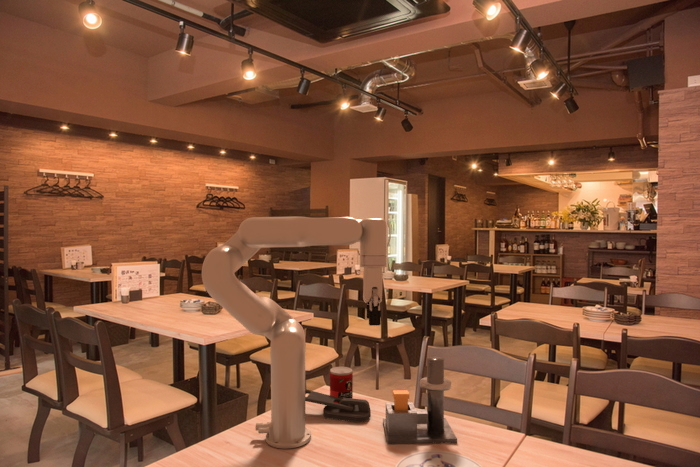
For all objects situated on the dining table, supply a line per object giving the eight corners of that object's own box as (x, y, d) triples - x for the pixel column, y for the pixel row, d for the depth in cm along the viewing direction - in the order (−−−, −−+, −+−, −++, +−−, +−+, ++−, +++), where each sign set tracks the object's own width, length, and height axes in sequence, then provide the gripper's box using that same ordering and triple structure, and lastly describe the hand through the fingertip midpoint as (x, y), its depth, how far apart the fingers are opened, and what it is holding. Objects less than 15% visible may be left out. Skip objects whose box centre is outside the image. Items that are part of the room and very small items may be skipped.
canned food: (340, 408, 151) (340, 375, 151) (325, 401, 157) (325, 369, 157) (357, 402, 156) (357, 370, 156) (341, 396, 162) (341, 365, 162)
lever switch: (387, 444, 126) (387, 366, 126) (382, 422, 140) (382, 352, 140) (457, 443, 127) (457, 365, 126) (445, 421, 141) (445, 352, 140)
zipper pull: (298, 386, 153) (372, 392, 148) (298, 406, 153) (372, 412, 148) (288, 395, 145) (367, 402, 139) (288, 416, 145) (367, 424, 139)
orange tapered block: (394, 430, 132) (393, 394, 132) (392, 425, 135) (392, 390, 135) (409, 430, 132) (409, 393, 132) (407, 425, 135) (407, 390, 135)
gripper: (358, 259, 140) (358, 316, 140) (361, 264, 123) (361, 328, 123) (383, 259, 140) (383, 315, 140) (389, 263, 123) (389, 328, 123)
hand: (373, 321), depth 132 cm, fingers open, 9 cm apart
